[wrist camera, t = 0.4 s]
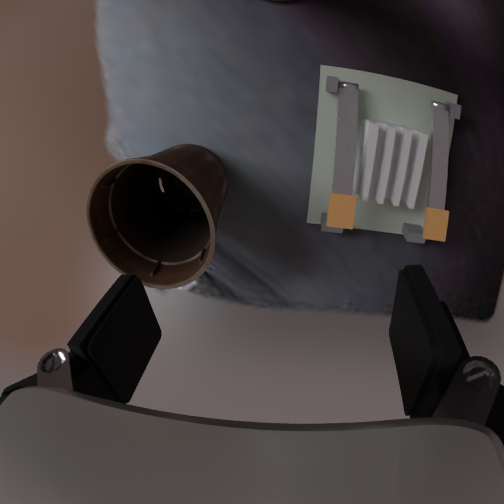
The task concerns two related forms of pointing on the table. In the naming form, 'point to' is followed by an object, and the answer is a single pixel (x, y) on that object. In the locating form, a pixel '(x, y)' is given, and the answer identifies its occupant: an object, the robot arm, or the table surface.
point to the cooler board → (381, 108)
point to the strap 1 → (344, 158)
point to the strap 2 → (437, 174)
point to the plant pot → (159, 214)
